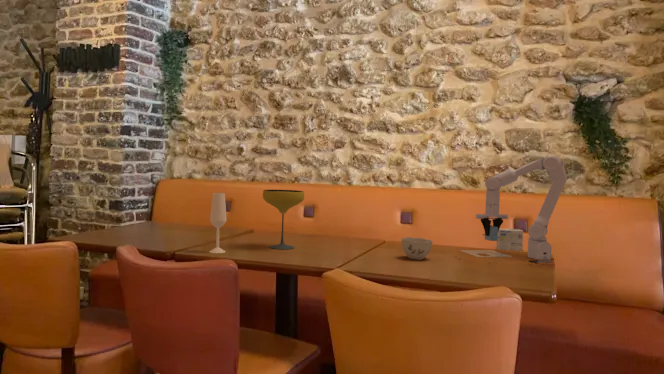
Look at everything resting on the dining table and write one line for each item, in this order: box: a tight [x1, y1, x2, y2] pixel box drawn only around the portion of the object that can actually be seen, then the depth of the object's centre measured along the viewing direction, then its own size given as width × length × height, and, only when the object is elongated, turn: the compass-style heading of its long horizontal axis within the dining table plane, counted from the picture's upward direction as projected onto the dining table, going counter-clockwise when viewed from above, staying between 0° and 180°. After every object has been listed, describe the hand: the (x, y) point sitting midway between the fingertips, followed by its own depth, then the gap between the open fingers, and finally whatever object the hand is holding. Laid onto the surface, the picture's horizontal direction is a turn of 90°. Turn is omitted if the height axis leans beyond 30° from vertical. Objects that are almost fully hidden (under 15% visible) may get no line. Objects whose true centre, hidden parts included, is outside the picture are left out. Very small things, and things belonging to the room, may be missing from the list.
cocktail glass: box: [262, 189, 305, 250], centre depth 236 cm, size 18×18×25 cm
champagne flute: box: [209, 192, 228, 254], centre depth 219 cm, size 7×7×24 cm
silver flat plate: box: [459, 249, 514, 258], centre depth 230 cm, size 17×16×2 cm
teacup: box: [401, 236, 433, 261], centre depth 221 cm, size 15×12×8 cm
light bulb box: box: [496, 227, 524, 252], centre depth 245 cm, size 11×7×11 cm, turn 84°
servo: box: [482, 224, 500, 242], centre depth 234 cm, size 9×3×6 cm, turn 13°
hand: (491, 235), depth 234 cm, fingers closed on servo, 3 cm apart
